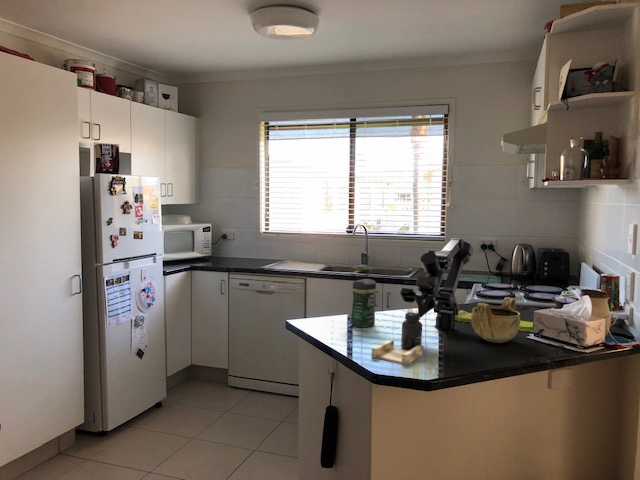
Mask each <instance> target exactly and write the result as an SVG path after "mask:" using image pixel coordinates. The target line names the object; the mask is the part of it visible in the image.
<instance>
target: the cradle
mask: <svg viewBox="0 0 640 480" xmlns="http://www.w3.org/2000/svg"><path fill="white" fill-rule="evenodd" d="M394 346H395V341H394V340H393V339H389V340H386V341H384V342H382V343H380V344H378V345H376V346H373V347H372V348H371V359H377V360H378V359H379V360H384V361H386V362H387V361H388V362H392V363H393V362H394V363H398V364H401V365H405V366H407V365H409V364H411V363H412V362H413V361H416V360H417V359H419V358H420V357H421V356H423V355H424V345H422V344H421V345H418V346H416V347H414V348H413V349H411V350H405V349H403V348H402V349H401V348H397V347H394Z"/></svg>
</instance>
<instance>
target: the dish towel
mask: <svg viewBox="0 0 640 480" xmlns="http://www.w3.org/2000/svg"><path fill="white" fill-rule="evenodd" d="M471 315H472V312H467V311H465V310H463V309H462V310H459V313H458V315H455V320H457V321H456V322H459V321H463V322H462V323H465V322H469V323H468V324H472V321H471ZM533 323H534V322H531V321H525V320H520V327H519V330H521V331H530V332H533V328H534V327H533ZM521 331H520V332H521Z"/></svg>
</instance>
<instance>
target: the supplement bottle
mask: <svg viewBox="0 0 640 480" xmlns="http://www.w3.org/2000/svg"><path fill="white" fill-rule="evenodd" d="M404 316H405V317H404V320H403V321H402V325H401V336H400V337H401V338H400V340H401V341H400V343H401V344H400V347H401V348H402V349H403V350H408V351H409V350H411V349H413V348H414V347H416V346H418V345H422V339H423V324H422V322H421V321H420V320H421V319H420V314H418V312H413V311H412V312H411V311H410V312H405V315H404Z"/></svg>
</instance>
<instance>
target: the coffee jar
mask: <svg viewBox="0 0 640 480" xmlns="http://www.w3.org/2000/svg"><path fill="white" fill-rule="evenodd" d="M351 290H352V308H351V309H352V310H351V317H350V319H351V320H350V324H351V325H352V326H353V327H356V328H369V327H371V326H374V325H375V324H376V320H375V319H376V317H375V316H376V314H375V309H376V308H375V297H376V291H377V281H375V280H374V279H370V278H364V279H363V278H362V279H358V280H357V279H356V280H354V281H353V282H352V289H351Z"/></svg>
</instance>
